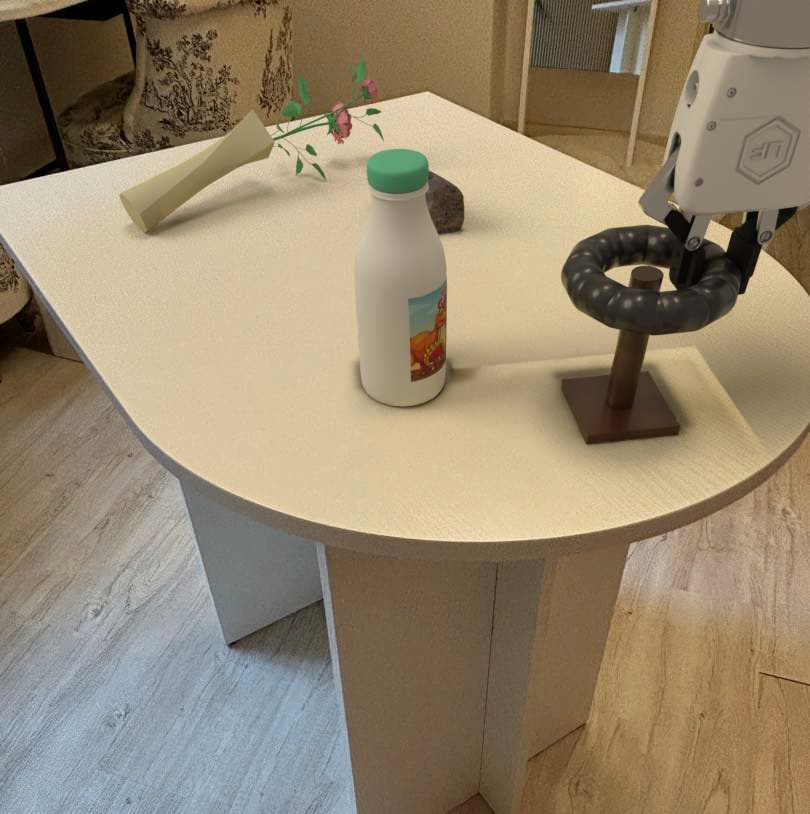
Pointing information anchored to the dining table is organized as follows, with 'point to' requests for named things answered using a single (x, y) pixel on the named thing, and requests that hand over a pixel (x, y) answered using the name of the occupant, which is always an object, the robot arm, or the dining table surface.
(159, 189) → the flower vase
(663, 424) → the holder
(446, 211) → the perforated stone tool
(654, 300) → the ring
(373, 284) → the milk bottle
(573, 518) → the dining table surface
